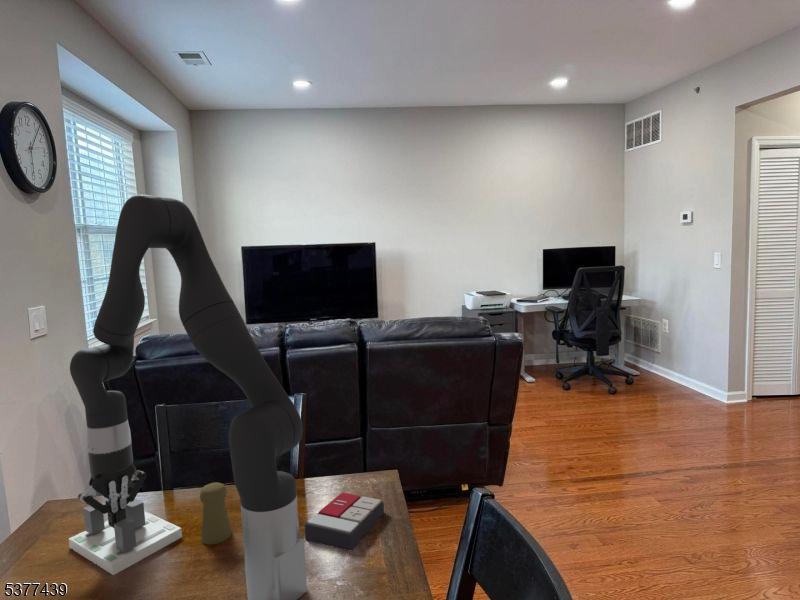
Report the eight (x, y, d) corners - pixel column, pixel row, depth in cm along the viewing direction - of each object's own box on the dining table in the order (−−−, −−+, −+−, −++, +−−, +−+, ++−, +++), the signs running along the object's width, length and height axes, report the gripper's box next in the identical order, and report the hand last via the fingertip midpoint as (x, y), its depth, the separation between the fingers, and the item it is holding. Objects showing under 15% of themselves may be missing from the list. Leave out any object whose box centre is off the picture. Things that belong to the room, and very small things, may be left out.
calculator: (384, 498, 110) (351, 531, 96) (384, 517, 110) (351, 552, 97) (341, 490, 115) (303, 520, 101) (341, 508, 115) (304, 540, 101)
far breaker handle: (104, 529, 103) (102, 506, 103) (92, 535, 101) (90, 511, 101) (98, 525, 105) (95, 502, 104) (85, 531, 103) (83, 508, 102)
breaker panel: (182, 537, 104) (181, 527, 103) (113, 575, 92) (112, 564, 92) (137, 515, 113) (136, 506, 113) (69, 547, 101) (68, 538, 101)
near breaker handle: (136, 546, 97) (134, 522, 96) (124, 553, 95) (121, 528, 94) (128, 542, 98) (126, 518, 98) (116, 548, 96) (113, 524, 96)
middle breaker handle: (145, 524, 104) (143, 502, 104) (134, 530, 102) (132, 507, 102) (138, 521, 106) (136, 498, 105) (126, 526, 104) (124, 504, 103)
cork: (221, 545, 100) (217, 493, 99) (194, 543, 101) (190, 491, 100) (237, 528, 106) (233, 479, 105) (211, 526, 107) (207, 477, 106)
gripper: (83, 460, 91) (93, 549, 93) (152, 436, 103) (159, 516, 104) (64, 453, 96) (73, 538, 97) (132, 430, 107) (139, 507, 108)
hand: (118, 526), depth 101 cm, fingers closed
